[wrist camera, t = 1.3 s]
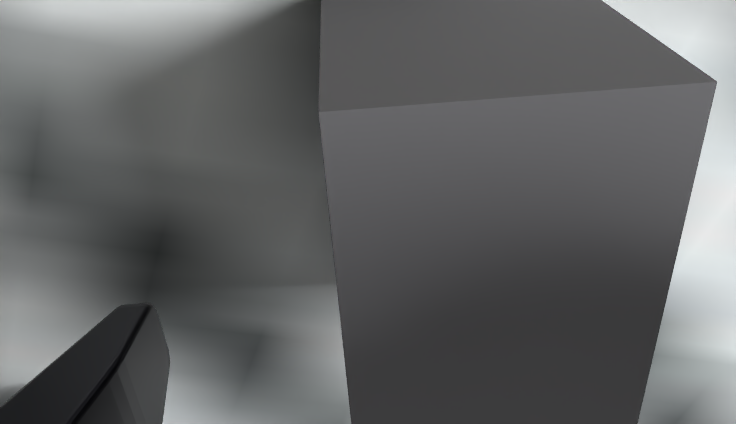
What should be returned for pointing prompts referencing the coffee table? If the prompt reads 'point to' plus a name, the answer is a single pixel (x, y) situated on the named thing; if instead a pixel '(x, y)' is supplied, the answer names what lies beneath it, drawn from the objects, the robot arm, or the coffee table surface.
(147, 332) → the robot arm
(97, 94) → the coffee table surface
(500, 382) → the grey rectangular block
